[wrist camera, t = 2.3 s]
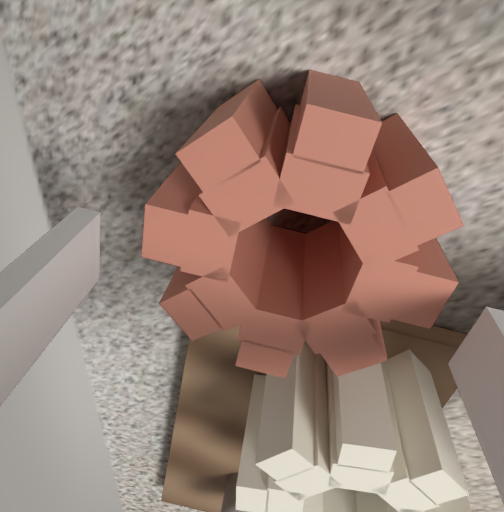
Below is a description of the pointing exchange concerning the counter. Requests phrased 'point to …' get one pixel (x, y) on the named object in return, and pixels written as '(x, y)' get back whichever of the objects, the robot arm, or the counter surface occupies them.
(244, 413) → the gear board
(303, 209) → the gear
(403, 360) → the gear
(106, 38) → the counter surface
